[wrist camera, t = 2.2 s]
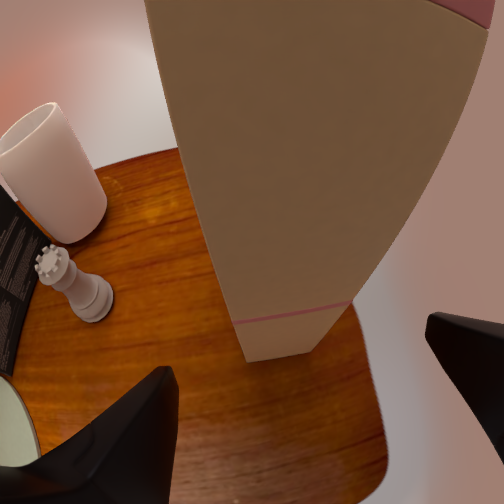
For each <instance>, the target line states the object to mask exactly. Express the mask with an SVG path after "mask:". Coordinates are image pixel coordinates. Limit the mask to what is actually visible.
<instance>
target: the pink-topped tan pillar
mask: <svg viewBox="0 0 504 504" xmlns="http://www.w3.org/2000/svg"><path fill="white" fill-rule="evenodd" d="M144 2H145V7H146V12H147V18H148V23H149V28H150V33H151V37H152V42H153V46H154V51H155V56H156V61H157V65H158V69H159V74H160V78H161V82H162V86H163V90H164V95H165V99H166V103H167V107H168V111H169V115H170V118H171V122H172V126H173V130H174V134H175V138H176V141H177V145H178V149H179V153H180V156H181V160H182V164H183V167H184V171H185V174H186V178H187V181H188V185H189V188H190V192H191V195H192V199H193V202H194V205H195V209H196V212H197V215H198V219H199V222H200V225H201V229H202V232H203V235H204V238H205V241H206V245H207V248H208V251H209V254H210V257H211V260H212V263H213V267H214V270H215V273H216V276H217V279H218V282H219V285H220V288H221V291H222V294H223V297H224V300H225V303H226V306H227V308H228V311H229V314H230V317H231V322H232V324H233V326H234V329H235V331H236V334H237V337H238V340H239V343H240V345H241V348H242V351H243V354H244V356H245V359H246V362H247V363H249V362H256V361H262V360H269V359H275V358H280V357H286V356H292V355H297V354H302V353H307V352H311V351H312V350H313V348H314V347H315V346H316V345H317V344H318V343H319V341H320V340H321V339H322V338H323V337H324V335H325V334H326V333H327V332H328V331H329V329H330V328H331V327H332V326H333V324H334V323H335V322H336V321H337V319H338V318H339V317H340V316H341V314H342V313H343V312H344V311H345V309H346V308H347V307H348V305H349V304H351V302H352V301H353V299H354V297H355V296H356V295H357V293H358V292H359V291H360V289H361V288H362V287H363V285H364V284H365V282H366V281H367V280H368V278H369V277H370V275H371V274H372V273H373V271H374V270H375V268H376V267H377V265H378V264H379V262H380V261H381V260H382V258H383V257H384V255H385V254H386V252H387V251H388V249H389V248H390V246H391V245H392V243H393V241H394V240H395V238H396V237H397V235H398V234H399V232H400V230H401V229H402V227H403V226H404V224H405V222H406V221H407V219H408V217H409V216H410V214H411V212H412V211H413V209H414V207H415V206H416V204H417V202H418V200H419V199H420V197H421V195H422V193H423V192H424V190H425V188H426V186H427V184H428V183H429V181H430V179H431V177H432V175H433V173H434V171H435V169H436V167H437V165H438V163H439V161H440V160H441V157H442V155H443V153H444V151H445V149H446V147H447V145H448V143H449V141H450V139H451V137H452V134H453V132H454V130H455V128H456V125H457V123H458V121H459V118H460V116H461V114H462V111H463V109H464V106H465V104H466V101H467V99H468V96H469V94H470V91H471V88H472V86H473V83H474V80H475V77H476V74H477V71H478V68H479V65H480V62H481V59H482V55H483V52H484V48H485V45H486V41H487V37H488V31H487V30H486V29H489V28H490V24H491V20H492V14H493V10H494V4H495V0H144Z"/></svg>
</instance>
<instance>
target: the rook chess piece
mask: <svg viewBox="0 0 504 504" xmlns="http://www.w3.org/2000/svg"><path fill="white" fill-rule="evenodd" d="M50 248H51V249H49V248H48V247H47V246H46V247H44V248H43V249H42V251H43V252H44V255H43V256H42V257H41V256H40V255H38V256H37V258H36V261H37V262H38V263H39V265H38V264H37V265H35V270H36V271H37V272H38V274H39V279H40V281H41V282H42V283H43V284H45V285H52V287H53V288H54V289H55V290H57V291H61V292H63V293H64V294H65V295H66V297H67V298H68V300H69V303H70V305H71V308H72V310H73V312H74V313H75V314H76V315H77V316H78V317H80V318H81V319H82V320H83V321H86V322H89V323H90V322H96V321H98V320H100V319H101V318H103V317H104V316H105V315H106V314H107V313H108V311H109V310H110V307H111V304H112V301H113V291H112V288H111V286H110V284H109V283H108V282H106V281H105V280H104V279H102V278H101V277H100V276H98V275H94V274H87V273H86V274H85V273H83V272H82V271H80V270H79V269H77V267H76V264H75V262H74V261H72V260H69V255H68V251H67V250H66V249H65V248H62V247H56V246H55V245H51V246H50Z"/></svg>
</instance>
